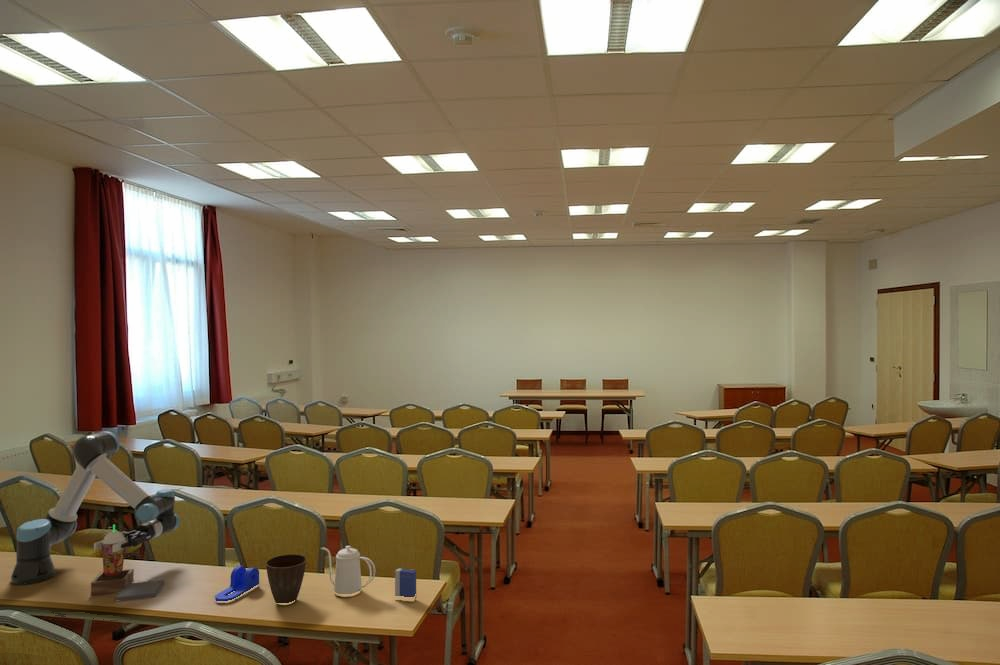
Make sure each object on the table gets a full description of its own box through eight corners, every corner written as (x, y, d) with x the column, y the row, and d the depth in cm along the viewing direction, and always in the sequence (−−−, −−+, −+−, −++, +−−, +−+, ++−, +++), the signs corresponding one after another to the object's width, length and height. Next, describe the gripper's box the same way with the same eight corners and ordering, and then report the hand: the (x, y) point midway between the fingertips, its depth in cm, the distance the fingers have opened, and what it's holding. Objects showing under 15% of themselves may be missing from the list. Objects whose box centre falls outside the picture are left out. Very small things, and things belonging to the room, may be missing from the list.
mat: (125, 587, 252) (125, 583, 252) (163, 583, 256) (163, 579, 256) (115, 601, 239) (115, 597, 239) (155, 596, 243) (155, 593, 243)
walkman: (416, 599, 240) (416, 569, 240) (413, 602, 237) (413, 571, 237) (397, 597, 242) (397, 567, 242) (394, 600, 239) (394, 569, 239)
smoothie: (96, 575, 249) (97, 526, 249) (114, 568, 257) (115, 520, 257) (111, 578, 246) (112, 528, 247) (129, 571, 254) (130, 523, 255)
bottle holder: (101, 584, 256) (101, 572, 256) (133, 580, 259) (133, 568, 259) (90, 595, 244) (90, 582, 244) (124, 591, 248) (125, 579, 248)
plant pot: (287, 591, 248) (287, 551, 248) (314, 598, 241) (314, 557, 241) (257, 605, 235) (257, 563, 235) (285, 613, 228) (285, 570, 228)
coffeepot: (327, 584, 255) (327, 538, 256) (381, 591, 248) (381, 544, 248) (312, 594, 245) (312, 547, 245) (367, 602, 238) (367, 553, 238)
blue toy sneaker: (242, 585, 255) (242, 563, 255) (259, 587, 253) (259, 565, 253) (210, 602, 238) (210, 579, 238) (228, 605, 235) (228, 581, 235)
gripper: (168, 541, 267) (125, 559, 245) (127, 537, 272) (82, 554, 250) (168, 524, 267) (125, 540, 245) (128, 520, 272) (82, 536, 250)
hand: (103, 547), depth 247 cm, fingers closed on smoothie, 8 cm apart
